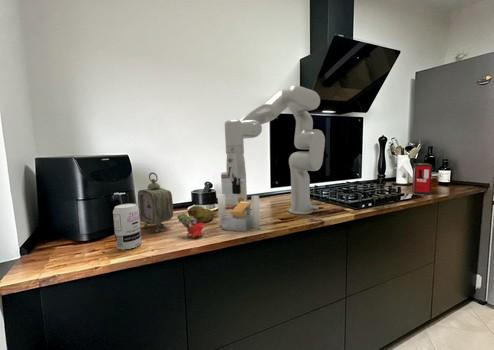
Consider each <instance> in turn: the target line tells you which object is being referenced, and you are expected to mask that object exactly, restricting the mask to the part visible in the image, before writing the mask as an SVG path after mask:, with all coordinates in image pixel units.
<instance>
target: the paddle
mask: <svg viewBox="0 0 494 350" xmlns="http://www.w3.org/2000/svg"><path fill="white" fill-rule="evenodd" d="M247 206H250V207H252V201H247V202H244V201H241V202H240V203H239V204H238V205H237V206H236V207H235V208H234V209H233V208H232V210H231V211H230V213H231V215H239V216H242V215H243V214H244V213H245V211H246V210H247Z"/></svg>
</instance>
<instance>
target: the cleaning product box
mask: <svg viewBox="0 0 494 350" xmlns="http://www.w3.org/2000/svg"><path fill="white" fill-rule="evenodd" d="M432 175H433V164H431V163H429V162H427V163H425V162H424V163H423V162H422V163H421V162H416V163H413V164H412V182H411V184H412V187H411V191H412V192H413V194H414V195H422V194H424V196H425V195H427V196H431V195H432V180H433V178H432Z"/></svg>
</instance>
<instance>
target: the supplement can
mask: <svg viewBox="0 0 494 350" xmlns="http://www.w3.org/2000/svg"><path fill="white" fill-rule="evenodd" d="M112 216H113V217H112V218H113V227H114V238H115V247H116V249H118V250H119V249H122V250H121V251H124V250H123V249H131V248H134V249H136V248H138V247H140V245H141V244H142V231H141V219H140V215H139V208H138V203H123V204H118V205H116V206H114V208H113V210H112ZM137 246H138V247H137ZM135 247H136V248H135ZM131 250H132V249H131Z"/></svg>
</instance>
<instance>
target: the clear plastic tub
mask: <svg viewBox="0 0 494 350" xmlns="http://www.w3.org/2000/svg"><path fill="white" fill-rule="evenodd" d="M235 207H236V205H233V206H232V208H231V209H232V210H233V209H234V208H235ZM221 228H222V230H226V231H235V232H245V233H246V232H248V231H249V230H250V229H251V228H252V208H251V206H247V210H246V211H245V213H244V214H243V215H242V216H239V215H231V212H229V213H227V214H226V216H224V217H223V218H222V226H221Z"/></svg>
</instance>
